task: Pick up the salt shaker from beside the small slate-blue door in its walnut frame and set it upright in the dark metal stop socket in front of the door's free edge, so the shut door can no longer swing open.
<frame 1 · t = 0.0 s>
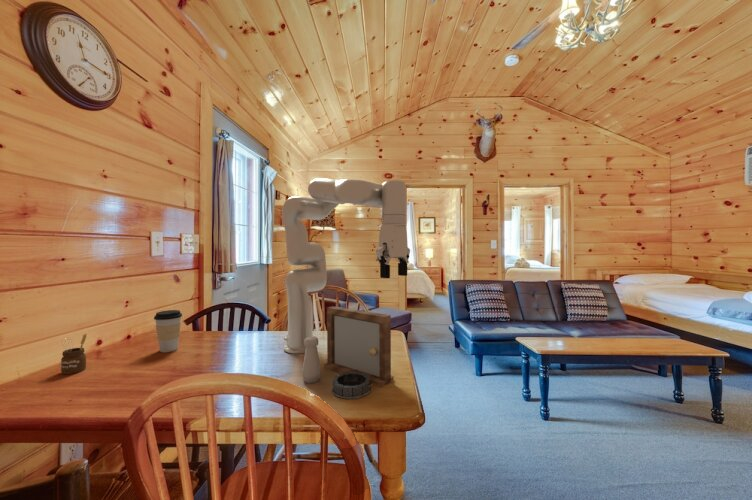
hand: (394, 276, 97), 31 cm above the table, tool pointing down, fingers open, 9 cm apart
stop socket: (351, 389, 88), on the table
door: (356, 344, 99), point 10 cm above the table, hinge at 0.0°
salt shaker: (311, 380, 95), on the table
utensil holder: (74, 371, 102), on the table
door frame: (357, 373, 100), on the table
coffee cup: (168, 350, 123), on the table
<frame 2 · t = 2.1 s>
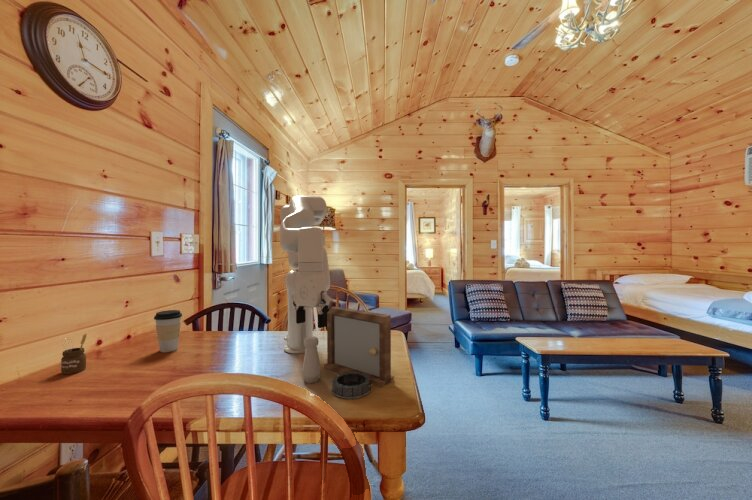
hand: (311, 324, 94), 17 cm above the table, tool pointing down, fingers open, 9 cm apart
nothing on the table moved.
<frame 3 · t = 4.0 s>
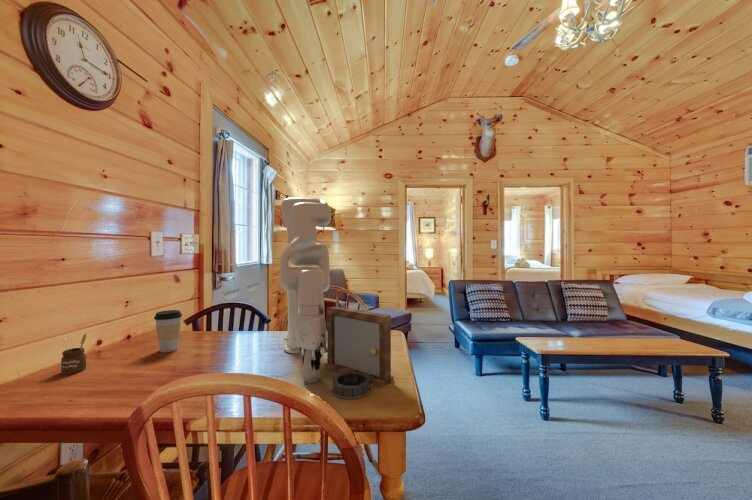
hand: (311, 369, 95), 3 cm above the table, tool pointing down, fingers closed on salt shaker, 3 cm apart
salt shaker: (311, 380, 95), on the table, touching gripper
everything else where it was.
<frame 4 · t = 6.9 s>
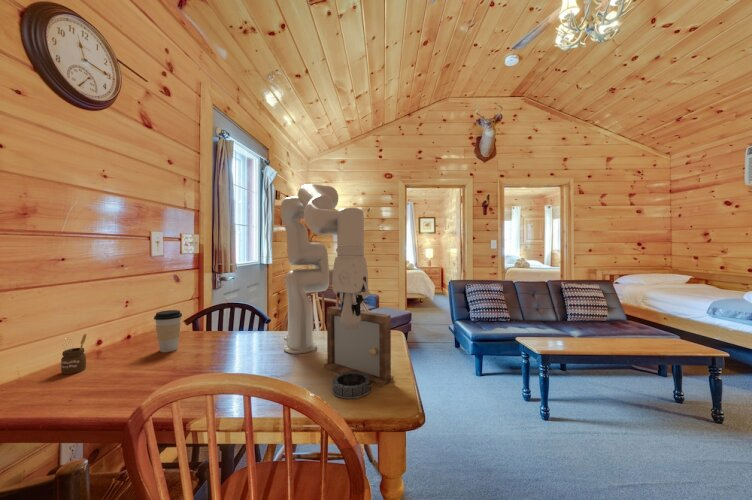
hand: (350, 316, 88), 21 cm above the table, tool pointing down, fingers closed on salt shaker, 3 cm apart
salt shaker: (350, 328, 88), point 17 cm above the table, touching gripper
everything else where it was.
when the fingers open (6 cm above the table, at t = 10.1 s): salt shaker drops 2 cm, resting on stop socket.
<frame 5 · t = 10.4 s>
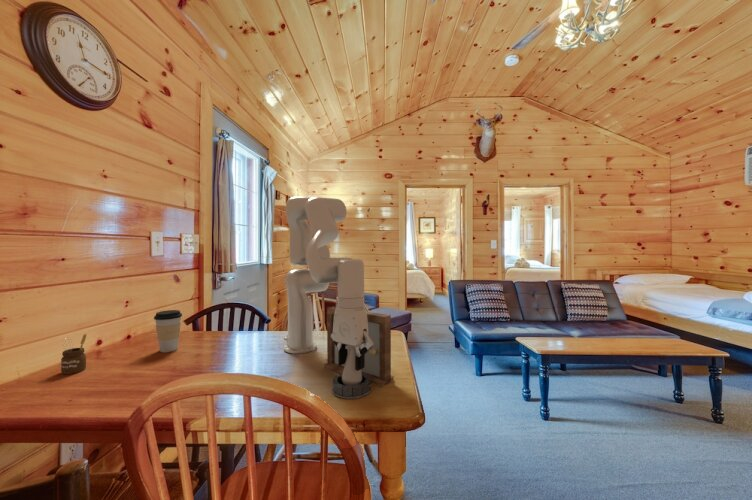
hand: (351, 365, 88), 7 cm above the table, tool pointing down, fingers open, 5 cm apart
salt shaker: (351, 387, 89), point 1 cm above the table, touching stop socket
everything else where it was.
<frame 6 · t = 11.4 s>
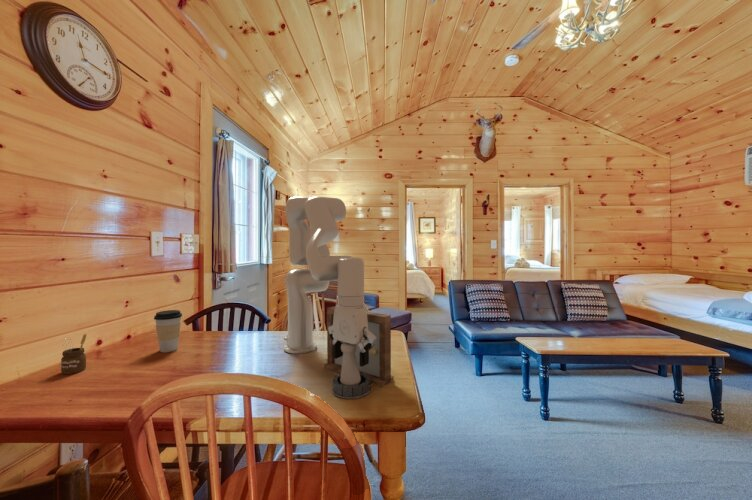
hand: (350, 361, 88), 8 cm above the table, tool pointing down, fingers open, 9 cm apart
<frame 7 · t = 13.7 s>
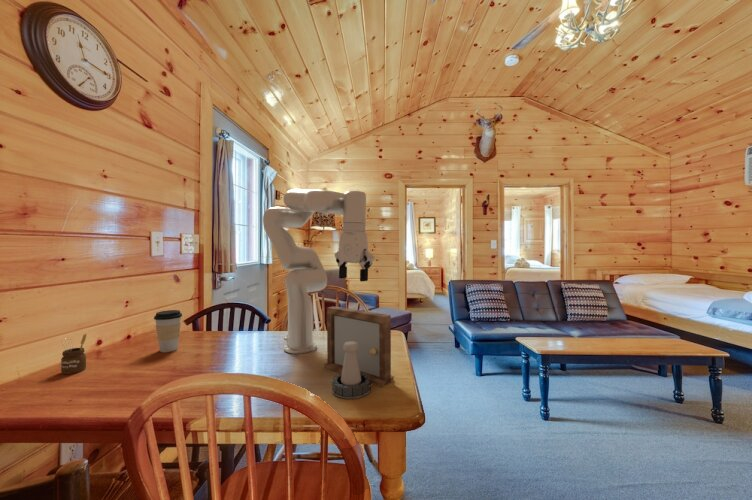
hand: (353, 279, 105), 29 cm above the table, tool pointing down, fingers open, 9 cm apart
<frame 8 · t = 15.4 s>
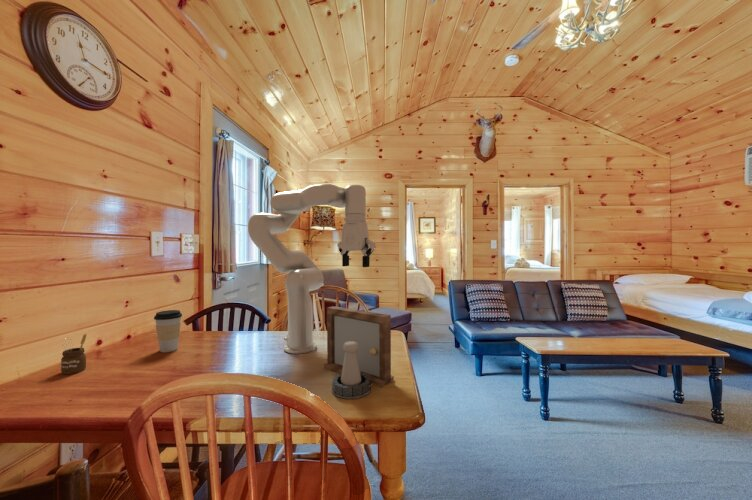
hand: (355, 266, 114), 33 cm above the table, tool pointing down, fingers open, 9 cm apart
at the end: salt shaker 0.2 cm off-centre on the stop socket, point 0.2 cm above the stop socket's base; salt shaker tilted 0°; door at +0° (first picture: +0°) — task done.
